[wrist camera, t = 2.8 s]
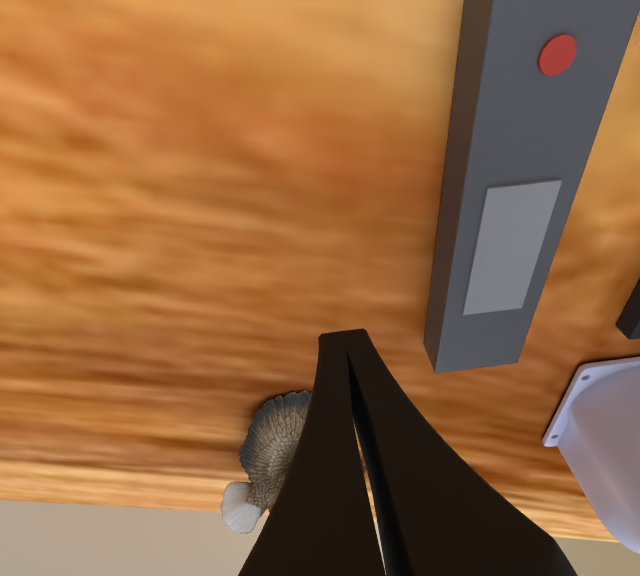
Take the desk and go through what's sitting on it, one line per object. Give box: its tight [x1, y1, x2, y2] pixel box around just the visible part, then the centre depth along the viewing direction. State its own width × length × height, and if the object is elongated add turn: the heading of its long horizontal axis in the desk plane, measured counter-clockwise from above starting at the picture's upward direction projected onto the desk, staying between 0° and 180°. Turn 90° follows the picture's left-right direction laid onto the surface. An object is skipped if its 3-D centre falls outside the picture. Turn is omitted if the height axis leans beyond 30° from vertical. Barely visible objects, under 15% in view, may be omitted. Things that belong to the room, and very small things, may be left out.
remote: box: [424, 0, 640, 373], centre depth 17 cm, size 17×4×2 cm, turn 5°
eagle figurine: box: [221, 390, 366, 533], centre depth 26 cm, size 8×7×9 cm
